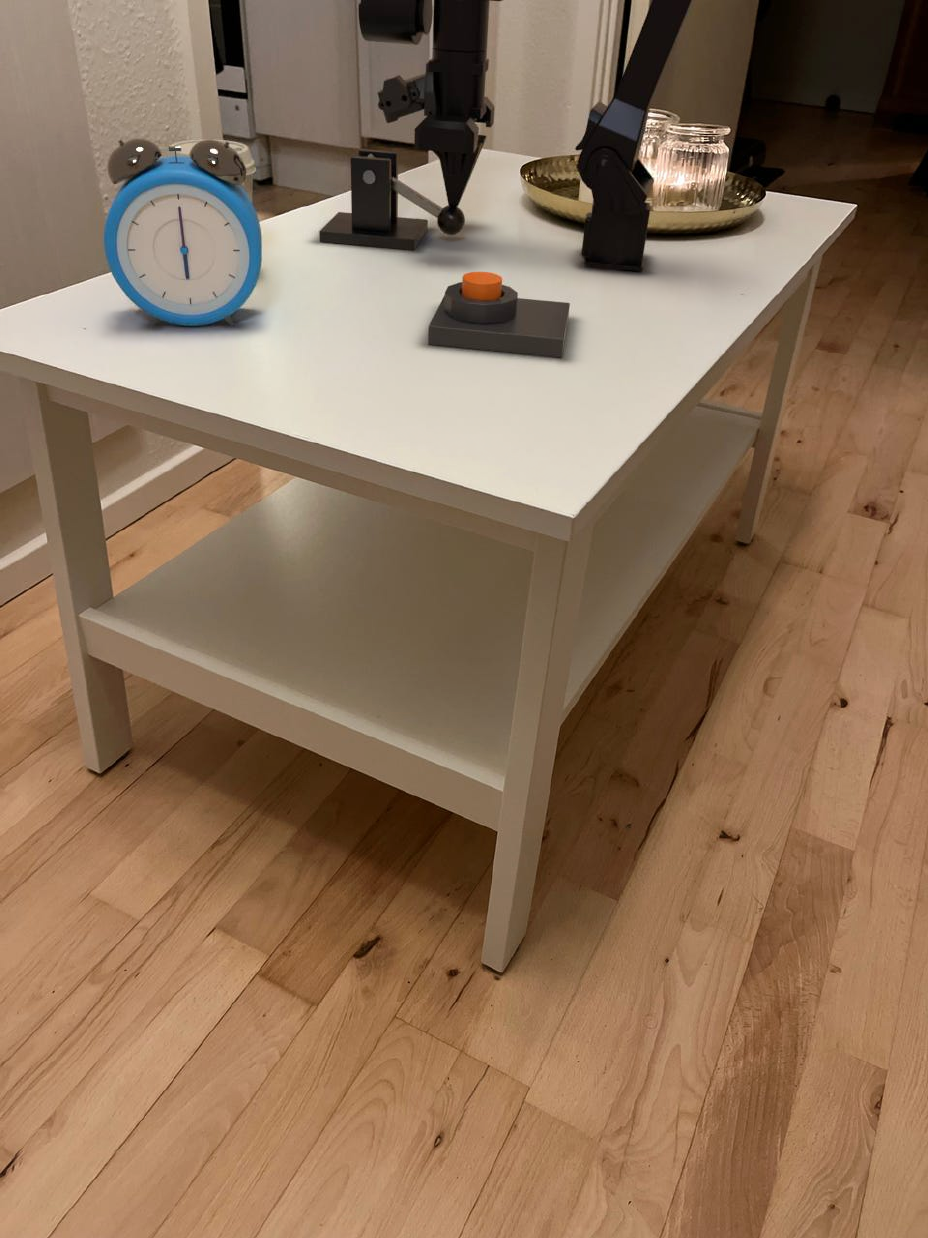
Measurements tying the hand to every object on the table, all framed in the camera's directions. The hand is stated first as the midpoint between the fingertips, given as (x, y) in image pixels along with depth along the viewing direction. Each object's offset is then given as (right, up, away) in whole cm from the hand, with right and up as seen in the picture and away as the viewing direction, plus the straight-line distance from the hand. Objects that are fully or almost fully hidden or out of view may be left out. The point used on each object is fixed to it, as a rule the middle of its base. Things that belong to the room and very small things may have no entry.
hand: (453, 205), depth 112 cm
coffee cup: (-24, -12, -11) cm, 29 cm away
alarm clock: (-24, -20, -22) cm, 38 cm away
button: (+3, -18, -23) cm, 29 cm away
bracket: (-9, -2, +3) cm, 10 cm away
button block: (+5, -20, -21) cm, 30 cm away
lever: (-5, 0, +1) cm, 5 cm away
